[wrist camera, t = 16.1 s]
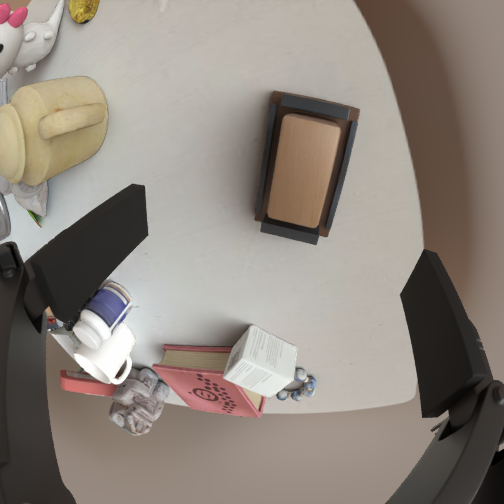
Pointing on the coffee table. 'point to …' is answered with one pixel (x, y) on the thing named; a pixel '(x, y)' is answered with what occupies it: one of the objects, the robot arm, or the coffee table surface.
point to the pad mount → (348, 125)
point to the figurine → (138, 401)
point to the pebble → (34, 199)
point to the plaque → (85, 383)
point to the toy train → (78, 315)
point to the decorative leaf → (33, 217)
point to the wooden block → (303, 168)
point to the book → (206, 381)
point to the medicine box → (3, 92)
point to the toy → (25, 38)
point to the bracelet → (297, 394)
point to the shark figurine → (75, 339)
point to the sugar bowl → (51, 128)
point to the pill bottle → (103, 315)
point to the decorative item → (82, 10)
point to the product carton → (261, 362)
